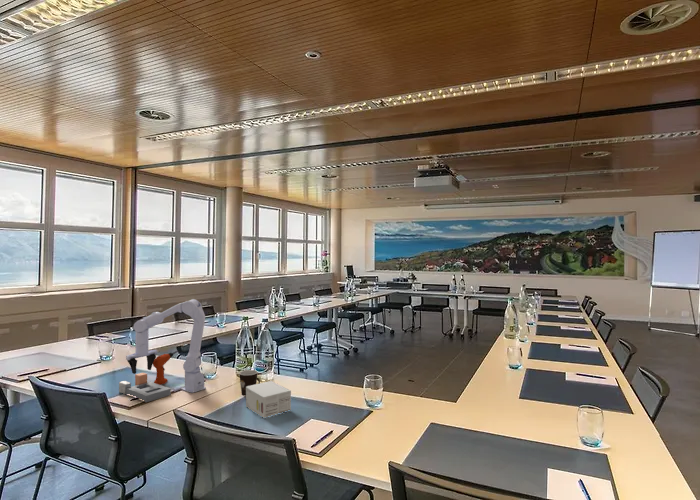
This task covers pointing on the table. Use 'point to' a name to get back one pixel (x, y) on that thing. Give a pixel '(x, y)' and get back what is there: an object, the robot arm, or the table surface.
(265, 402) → the supplement box
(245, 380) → the coffee mug
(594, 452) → the table surface
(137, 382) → the square peg
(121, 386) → the light gray block
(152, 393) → the socket board
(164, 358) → the toy drill
